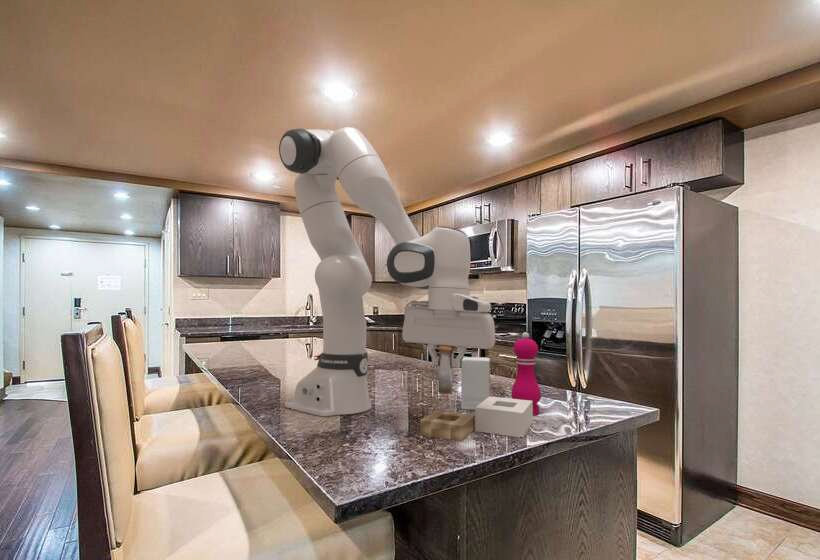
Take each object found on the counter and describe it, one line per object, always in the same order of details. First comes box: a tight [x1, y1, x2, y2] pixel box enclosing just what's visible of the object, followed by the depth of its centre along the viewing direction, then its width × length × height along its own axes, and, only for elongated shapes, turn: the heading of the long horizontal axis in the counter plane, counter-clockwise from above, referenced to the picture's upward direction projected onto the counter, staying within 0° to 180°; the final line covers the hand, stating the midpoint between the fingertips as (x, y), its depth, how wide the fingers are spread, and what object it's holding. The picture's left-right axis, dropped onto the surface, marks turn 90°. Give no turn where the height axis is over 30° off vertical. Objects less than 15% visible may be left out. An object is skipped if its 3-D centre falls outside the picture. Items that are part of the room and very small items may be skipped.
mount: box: [419, 409, 475, 442], centre depth 90 cm, size 9×9×3 cm
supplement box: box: [460, 356, 491, 411], centre depth 112 cm, size 7×7×13 cm
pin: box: [437, 345, 457, 395], centre depth 91 cm, size 4×4×10 cm
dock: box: [474, 395, 534, 439], centre depth 94 cm, size 10×12×5 cm
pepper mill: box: [510, 331, 542, 416], centre depth 107 cm, size 7×7×20 cm
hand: (446, 366), depth 91 cm, fingers closed on pin, 3 cm apart
